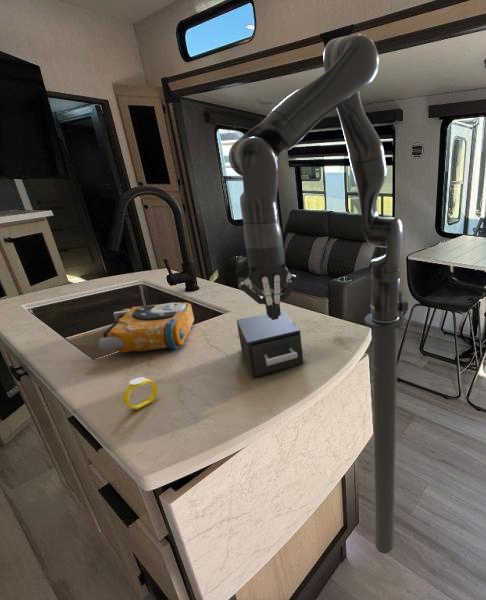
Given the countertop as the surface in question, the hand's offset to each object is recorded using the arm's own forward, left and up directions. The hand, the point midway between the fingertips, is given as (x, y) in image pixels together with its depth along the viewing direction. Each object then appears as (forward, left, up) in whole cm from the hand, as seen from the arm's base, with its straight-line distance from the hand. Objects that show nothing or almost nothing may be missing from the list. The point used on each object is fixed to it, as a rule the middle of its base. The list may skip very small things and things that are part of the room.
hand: (274, 318), depth 73 cm
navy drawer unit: (0, -10, -15) cm, 18 cm away
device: (+28, -42, -15) cm, 53 cm away
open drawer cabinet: (0, -6, -14) cm, 15 cm away
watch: (+28, -4, -15) cm, 32 cm away
